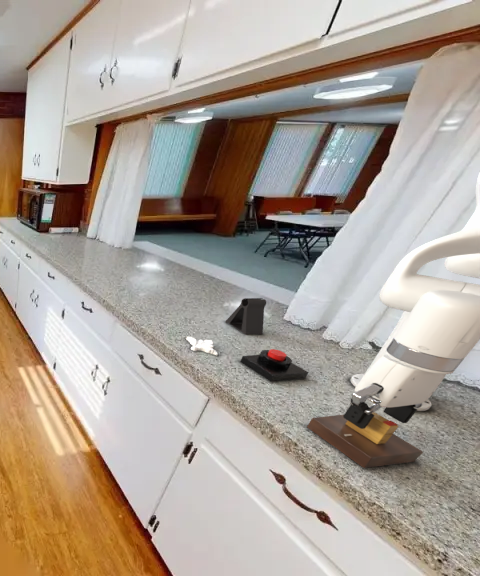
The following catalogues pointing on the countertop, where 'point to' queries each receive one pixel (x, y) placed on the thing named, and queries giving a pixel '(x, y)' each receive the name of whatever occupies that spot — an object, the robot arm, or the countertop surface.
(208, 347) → the acanthus leaf ornament
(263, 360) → the black button base
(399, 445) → the plate
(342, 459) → the countertop surface
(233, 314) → the phone stand
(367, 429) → the block
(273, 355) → the button
